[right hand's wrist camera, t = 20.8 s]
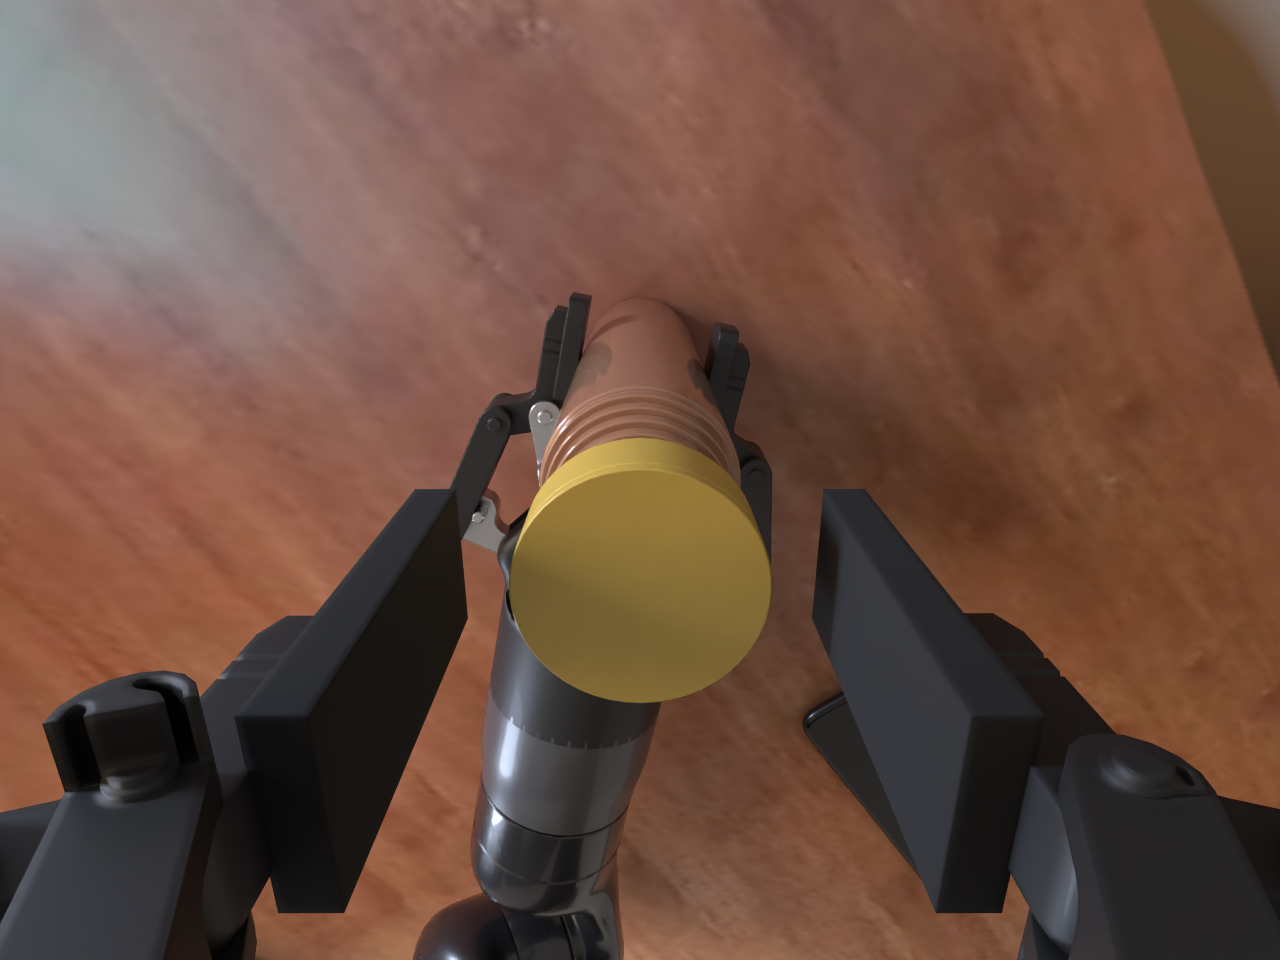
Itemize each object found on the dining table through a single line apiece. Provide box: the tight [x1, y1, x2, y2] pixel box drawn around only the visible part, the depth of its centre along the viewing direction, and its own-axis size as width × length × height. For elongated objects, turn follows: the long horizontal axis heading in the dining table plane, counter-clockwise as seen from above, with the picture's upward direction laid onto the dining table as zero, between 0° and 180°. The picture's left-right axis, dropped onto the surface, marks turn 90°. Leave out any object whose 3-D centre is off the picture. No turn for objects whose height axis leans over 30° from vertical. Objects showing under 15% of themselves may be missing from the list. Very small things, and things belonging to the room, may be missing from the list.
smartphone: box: [803, 691, 922, 880], centre depth 42 cm, size 8×1×16 cm
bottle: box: [540, 298, 741, 489], centre depth 24 cm, size 5×5×22 cm
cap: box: [509, 438, 772, 703], centre depth 14 cm, size 4×4×2 cm
